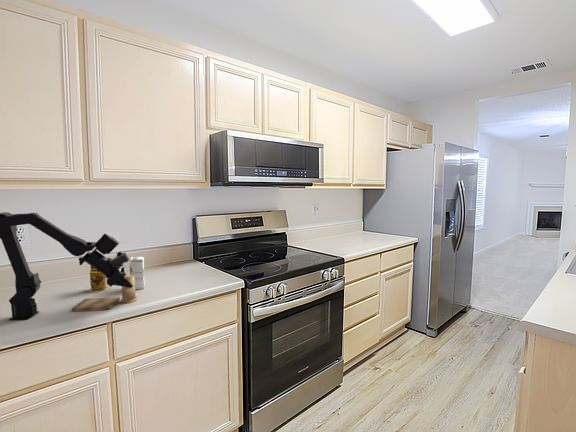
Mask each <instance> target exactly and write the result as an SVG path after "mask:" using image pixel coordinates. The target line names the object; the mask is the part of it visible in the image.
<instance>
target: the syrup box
mask: <svg viewBox="0 0 576 432" xmlns="http://www.w3.org/2000/svg"><path fill="white" fill-rule="evenodd" d="M129 275H134V277H135V291H137V290H142V289H144V288H145V286H146V284H145V279H146V278H145V258H144V256H133V257H132V256H131V258H129Z"/></svg>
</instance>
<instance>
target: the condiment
mask: <svg viewBox="0 0 576 432" xmlns="http://www.w3.org/2000/svg"><path fill="white" fill-rule="evenodd" d="M89 279H90V288H86V289H85V291H87V292H88V291H89V293H90V292H91V293H94V294H95V293H99V292H103V291H106V290H109V289H110V287H107V278H106V277H105V275H104V274H102V273H101V272H99V273H98V272H97V270H96V269H95V268H94V267H92V266H91V265H90V272H89Z"/></svg>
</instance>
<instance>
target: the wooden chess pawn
mask: <svg viewBox="0 0 576 432" xmlns="http://www.w3.org/2000/svg"><path fill="white" fill-rule="evenodd" d="M124 277H125V278H126V279H127V280H128V281H129V282H130V283H131V284H132V285H133V287H132V288H129V287H123V286H121V295H122V297H121V298H120V302H121V303H122V304H131V303H134V302H137V300H138V297H137V296H136V290H135V277H134V275H130V274H126V275H125V276H124Z"/></svg>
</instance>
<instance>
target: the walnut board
mask: <svg viewBox="0 0 576 432" xmlns="http://www.w3.org/2000/svg"><path fill="white" fill-rule="evenodd" d="M119 302H121V297H102V298H101V297H100V298H99V297H97V298H84V299H82V300H81V301H79V302H78V303H76V305H74V306H73V307H72V308H71V312H83V311H87V312H88V311H106V310H108V311H109V310H111V309H112V308H113V307H115V305H117V304H118V303H119Z"/></svg>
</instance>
